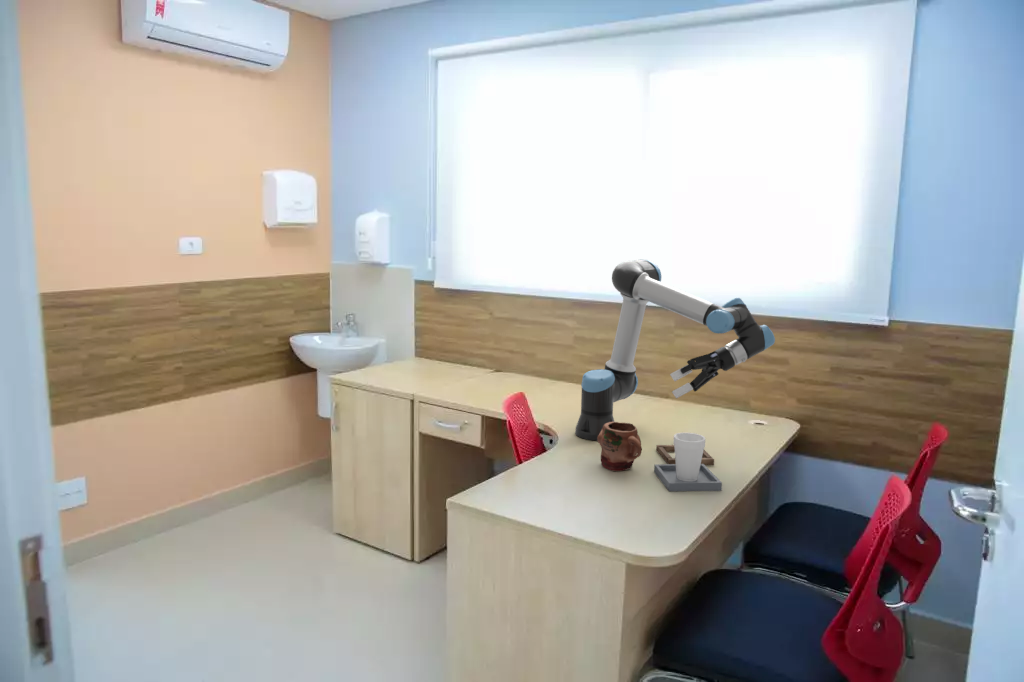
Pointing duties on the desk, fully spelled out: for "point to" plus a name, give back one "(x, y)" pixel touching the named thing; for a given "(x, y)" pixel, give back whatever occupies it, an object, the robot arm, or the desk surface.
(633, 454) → the sculpted ceramic mug
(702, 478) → the charcoal tray
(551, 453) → the desk surface
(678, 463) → the foam cup
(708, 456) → the walnut collar
